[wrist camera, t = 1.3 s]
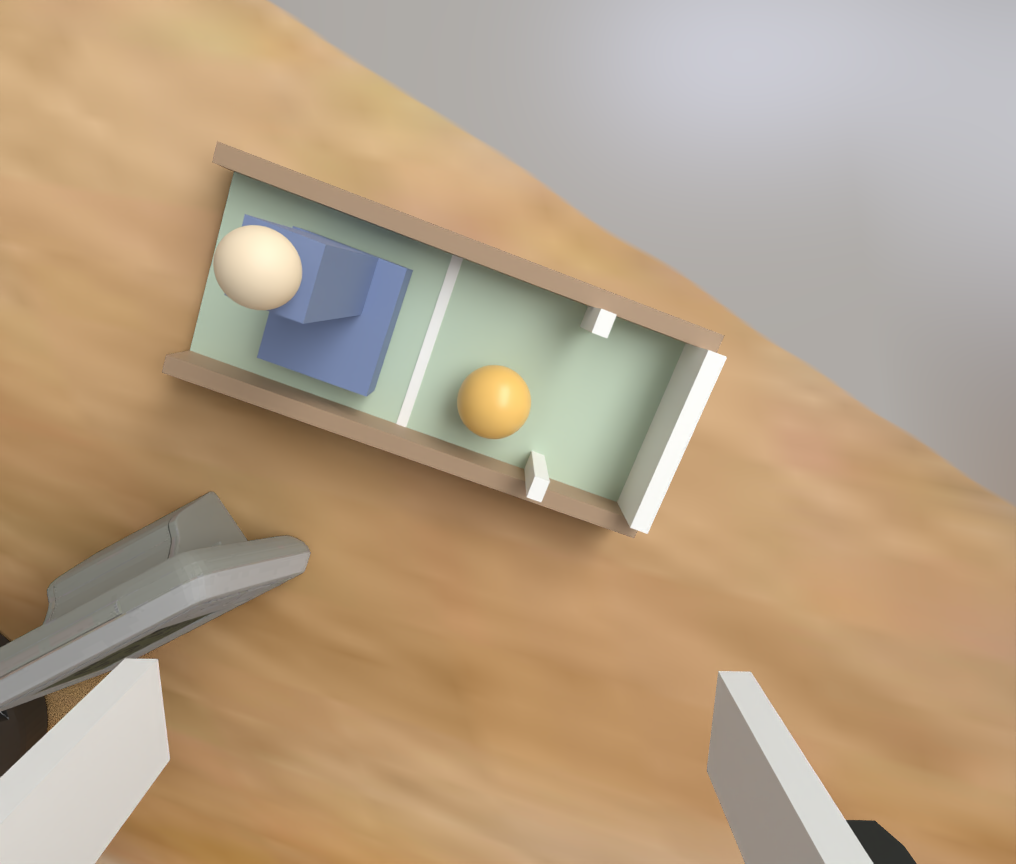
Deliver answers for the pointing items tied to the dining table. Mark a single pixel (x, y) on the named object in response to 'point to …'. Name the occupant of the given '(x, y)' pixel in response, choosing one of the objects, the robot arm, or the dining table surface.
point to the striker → (314, 300)
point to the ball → (494, 402)
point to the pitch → (475, 358)
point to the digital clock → (144, 597)
